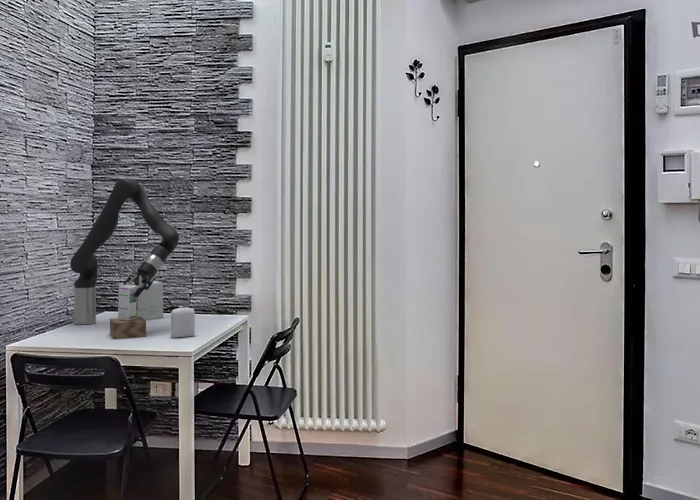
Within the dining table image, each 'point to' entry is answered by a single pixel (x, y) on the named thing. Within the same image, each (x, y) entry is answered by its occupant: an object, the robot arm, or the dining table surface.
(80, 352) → the dining table surface
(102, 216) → the robot arm
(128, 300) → the syrup box
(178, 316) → the photo printer
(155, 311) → the supplement box
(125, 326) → the walnut block
